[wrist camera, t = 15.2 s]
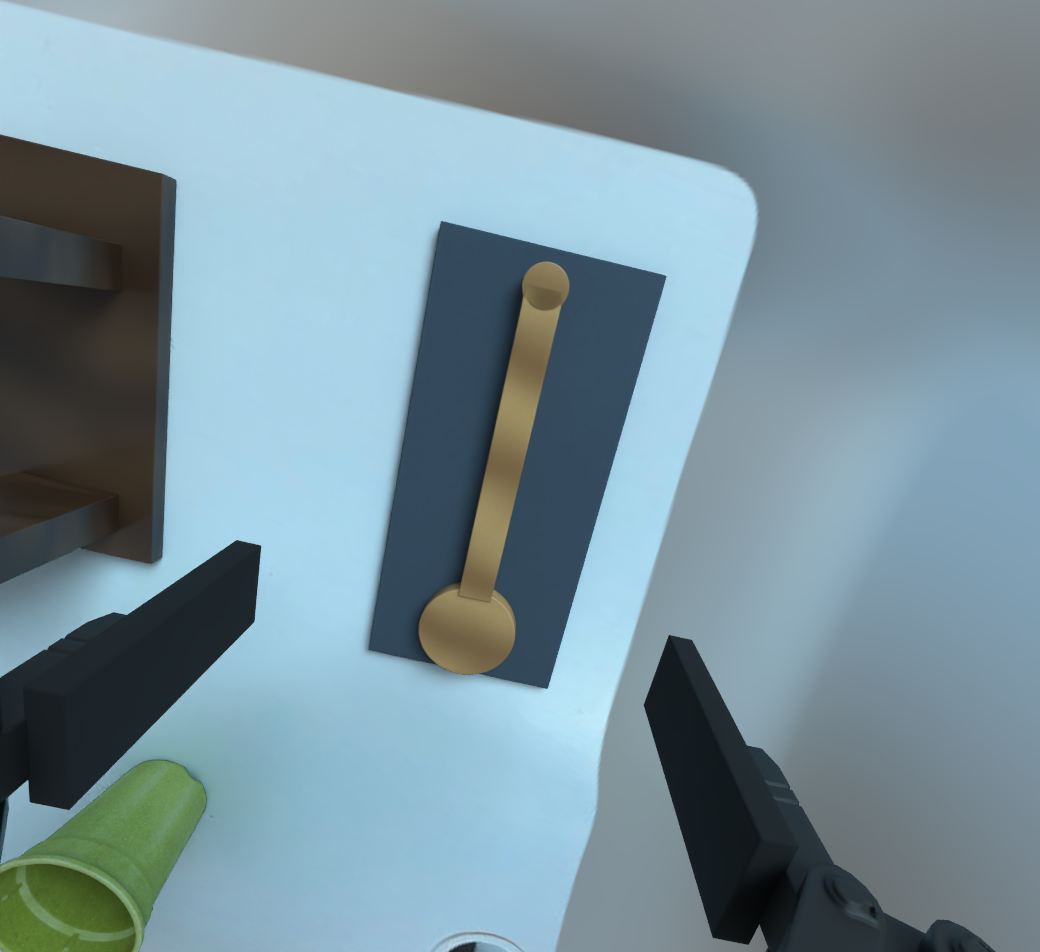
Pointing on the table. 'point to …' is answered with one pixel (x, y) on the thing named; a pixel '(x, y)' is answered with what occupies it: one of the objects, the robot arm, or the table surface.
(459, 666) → the ladle
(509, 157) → the table surface
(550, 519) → the mat
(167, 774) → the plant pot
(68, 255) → the rack
